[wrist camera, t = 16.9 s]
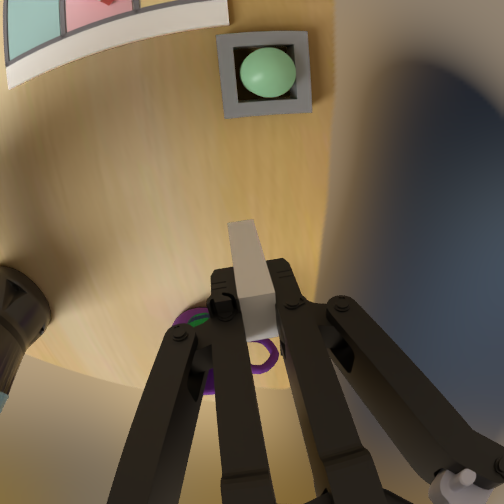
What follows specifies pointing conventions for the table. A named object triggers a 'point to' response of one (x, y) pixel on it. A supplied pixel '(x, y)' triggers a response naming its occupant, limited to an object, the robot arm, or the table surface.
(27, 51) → the colored panel board
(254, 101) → the button housing
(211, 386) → the mug
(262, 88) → the button
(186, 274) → the table surface
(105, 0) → the ink cartridge box
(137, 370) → the table surface
